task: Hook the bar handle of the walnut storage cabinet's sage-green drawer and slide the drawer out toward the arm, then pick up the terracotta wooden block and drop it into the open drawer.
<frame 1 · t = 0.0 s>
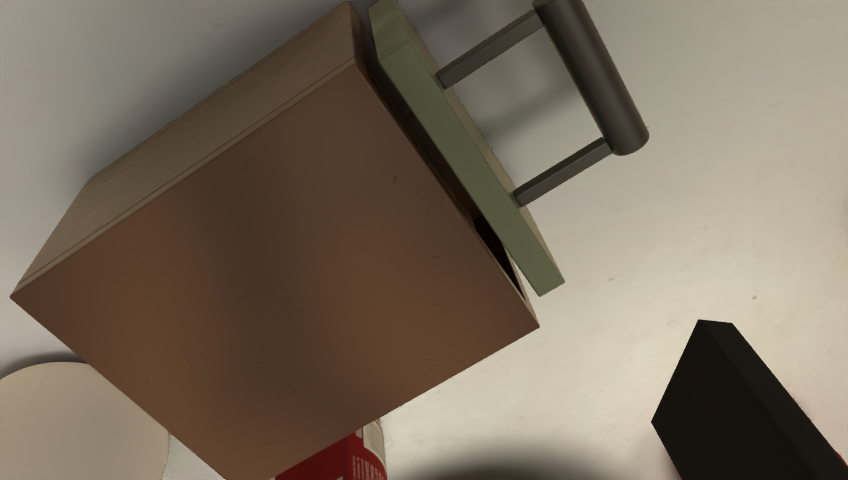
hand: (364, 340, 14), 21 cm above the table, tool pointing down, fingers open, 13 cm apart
cup: (80, 419, 41), on the table
soda can: (324, 431, 43), on the table
cabinet: (299, 198, 35), on the table
drawer: (396, 184, 30), point 5 cm above the table, slide at 0.5 cm
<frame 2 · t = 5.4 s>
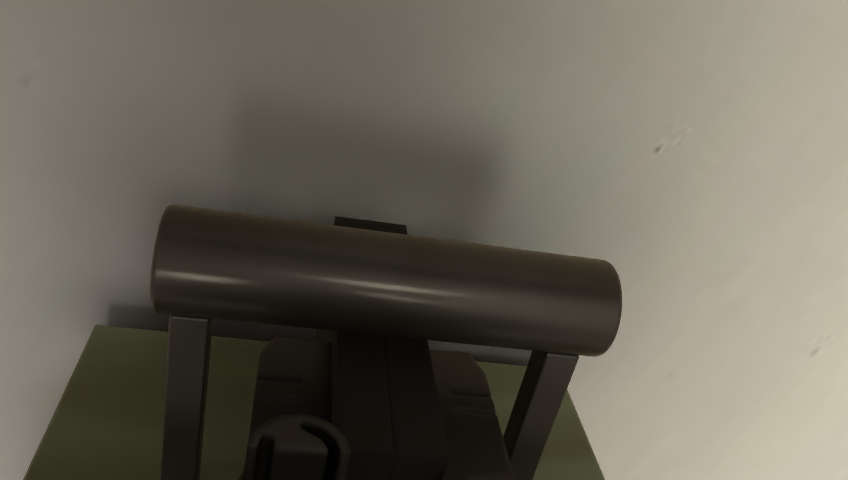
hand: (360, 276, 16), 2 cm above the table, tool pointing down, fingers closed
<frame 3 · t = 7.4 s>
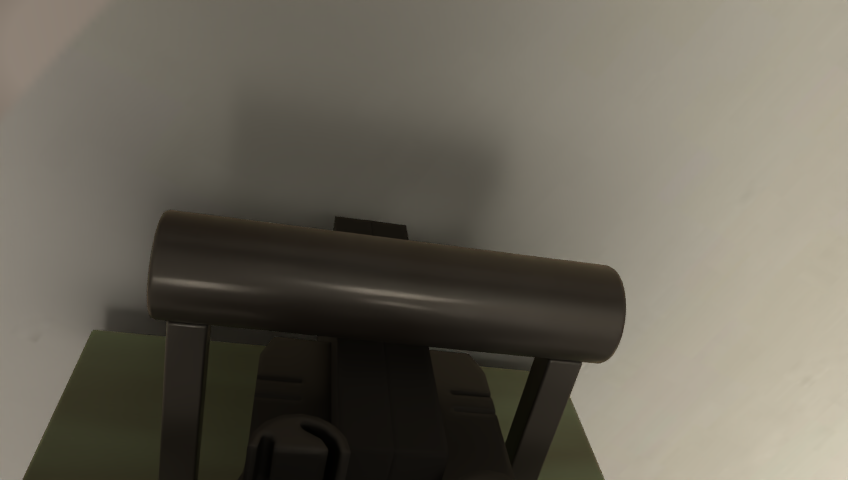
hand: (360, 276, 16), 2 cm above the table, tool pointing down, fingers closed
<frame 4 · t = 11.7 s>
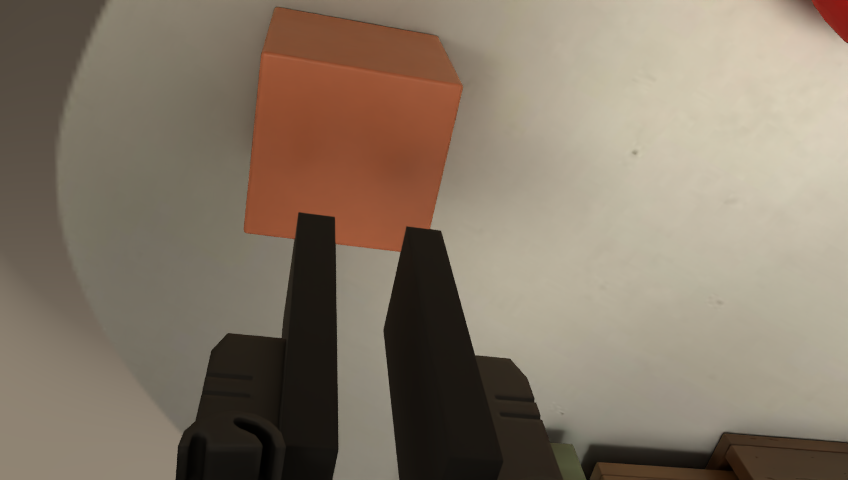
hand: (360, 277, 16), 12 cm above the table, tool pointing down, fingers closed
block: (345, 99, 26), on the table
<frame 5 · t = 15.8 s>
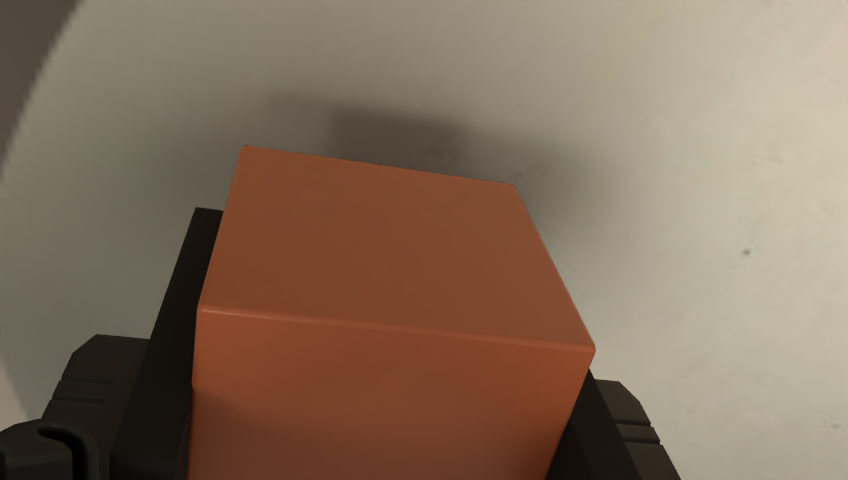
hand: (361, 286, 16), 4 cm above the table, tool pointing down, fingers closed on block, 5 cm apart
block: (360, 279, 16), point 4 cm above the table, touching gripper
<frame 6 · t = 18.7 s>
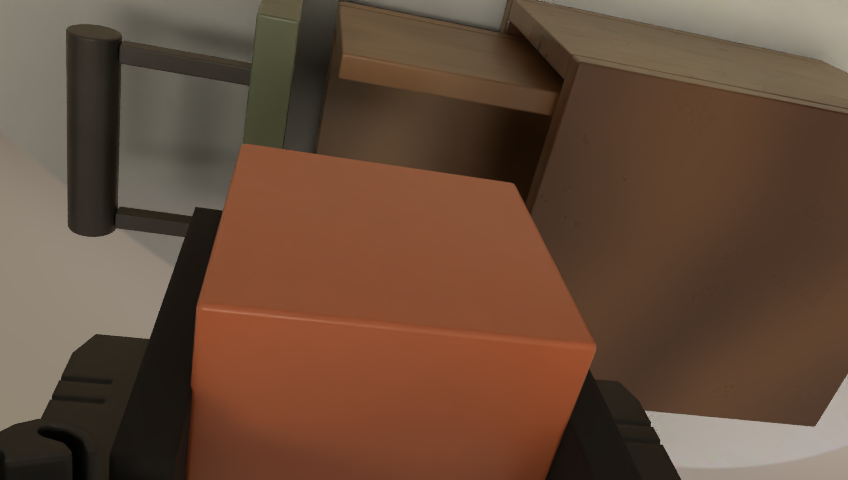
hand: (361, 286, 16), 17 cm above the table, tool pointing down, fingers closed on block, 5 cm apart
block: (360, 278, 16), point 17 cm above the table, touching gripper
cabinet: (622, 164, 34), on the table
drawer: (354, 164, 27), point 5 cm above the table, slide at 8.0 cm
when the fingers open (6 cm above the table, at t = 21.9 s): block drops 4 cm, resting on drawer.
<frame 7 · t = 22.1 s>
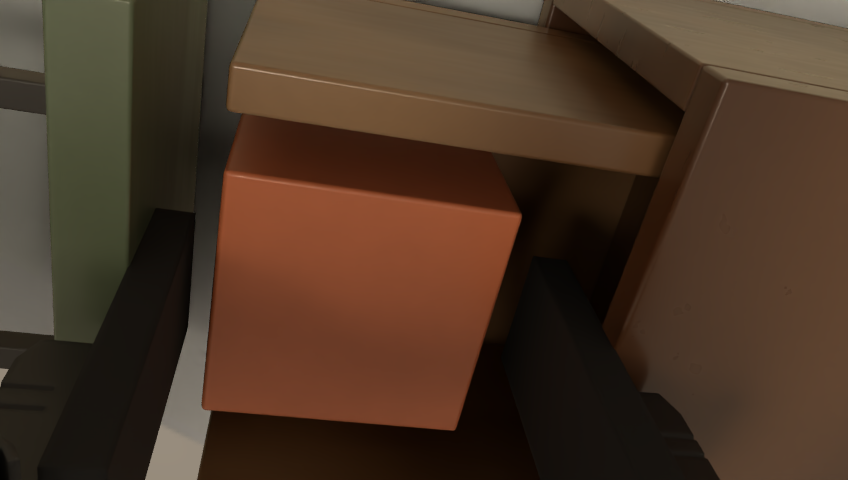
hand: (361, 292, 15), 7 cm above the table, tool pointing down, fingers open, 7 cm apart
block: (348, 195, 19), point 2 cm above the table, touching drawer
cabinet: (713, 218, 23), on the table
drawer: (292, 242, 17), point 5 cm above the table, slide at 8.3 cm, touching block, gripper
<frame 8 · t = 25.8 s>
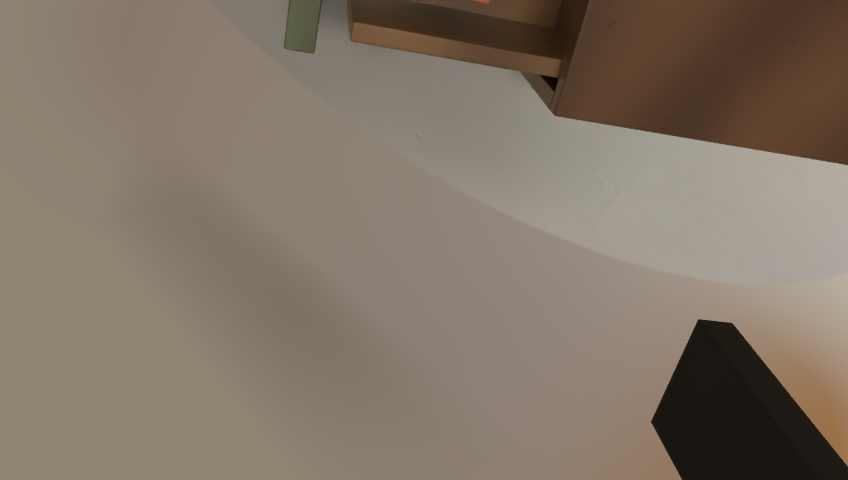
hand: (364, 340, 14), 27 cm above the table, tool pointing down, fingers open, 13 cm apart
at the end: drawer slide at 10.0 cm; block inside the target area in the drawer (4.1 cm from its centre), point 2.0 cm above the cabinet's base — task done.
